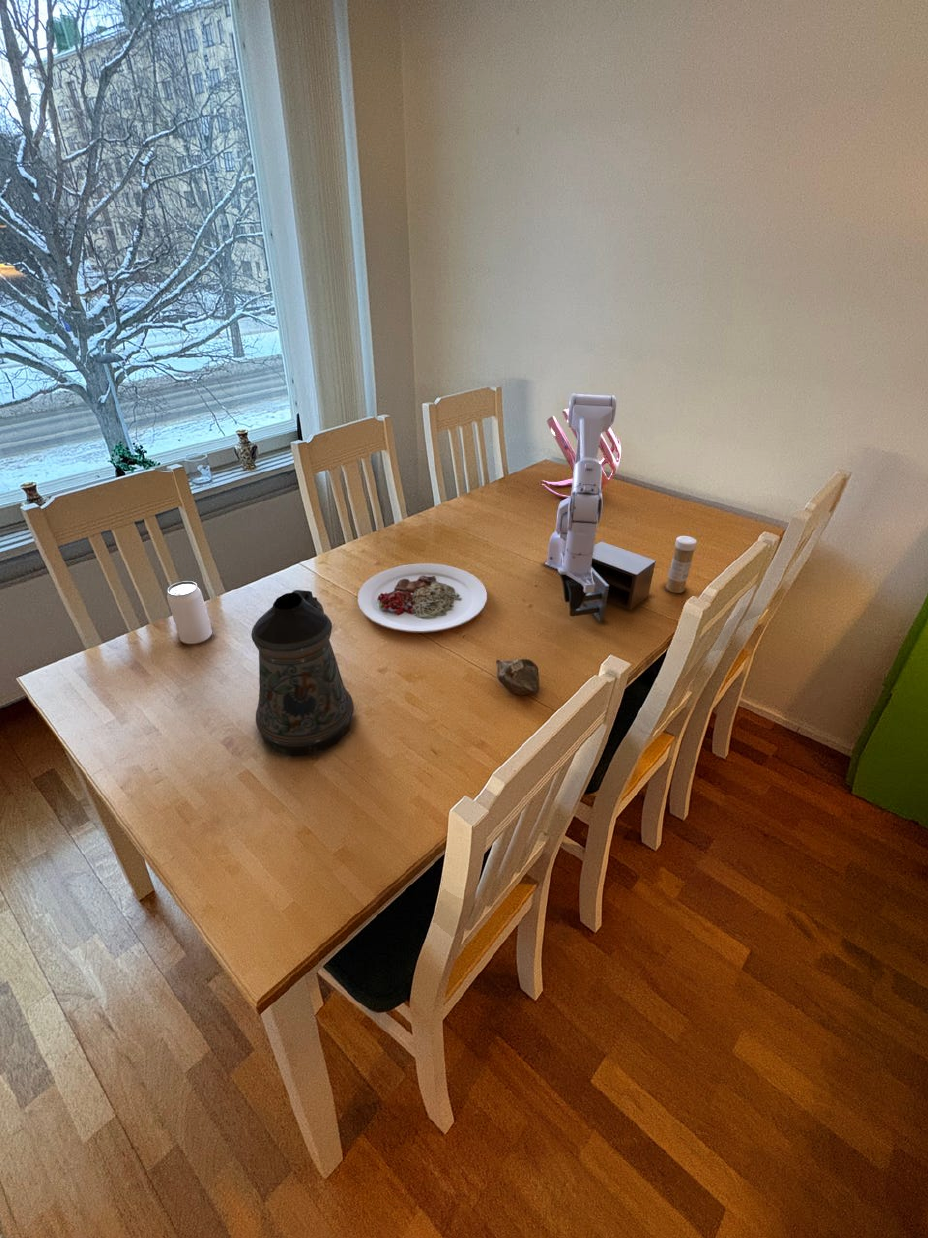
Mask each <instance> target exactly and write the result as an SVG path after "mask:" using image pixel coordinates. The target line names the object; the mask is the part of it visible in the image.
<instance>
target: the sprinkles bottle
mask: <svg viewBox="0 0 928 1238" xmlns="http://www.w3.org/2000/svg"><path fill="white" fill-rule="evenodd" d="M697 543H698V540H697V539H696V538H695V537H692V536H689V535H680V536H677V537H676V539H675V542H674V550H673V551H674V552H673V556H672V559H671V564H670V567H669V571H668V577H667V582H666V584H665V589H666V590H667V591H668V592H670V593H675V594H681V593H684V592H685V590H686V584H687V580H688V578H689V573H690V570H691V566H692V562H693V557H694V552H695V550H696V548H697Z"/></svg>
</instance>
